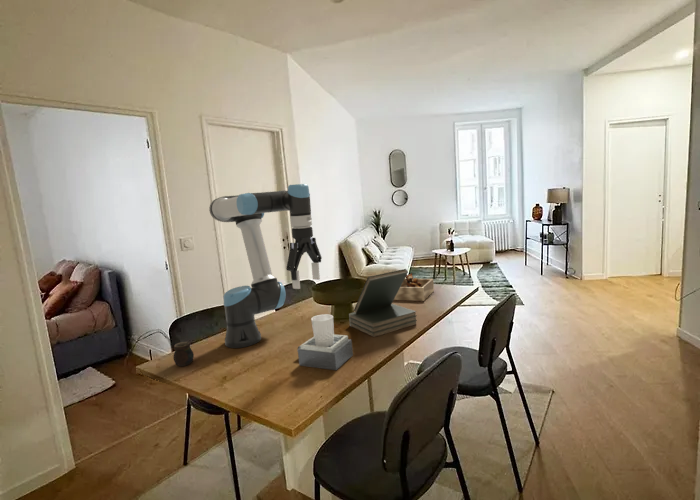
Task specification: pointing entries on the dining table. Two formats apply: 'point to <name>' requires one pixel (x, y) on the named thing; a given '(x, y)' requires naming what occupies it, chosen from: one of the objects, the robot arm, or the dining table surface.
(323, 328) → the white cup
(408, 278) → the bear figurine
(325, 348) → the grey open box
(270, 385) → the dining table surface
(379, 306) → the book stack
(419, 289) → the bear crate
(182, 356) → the mate gourd
